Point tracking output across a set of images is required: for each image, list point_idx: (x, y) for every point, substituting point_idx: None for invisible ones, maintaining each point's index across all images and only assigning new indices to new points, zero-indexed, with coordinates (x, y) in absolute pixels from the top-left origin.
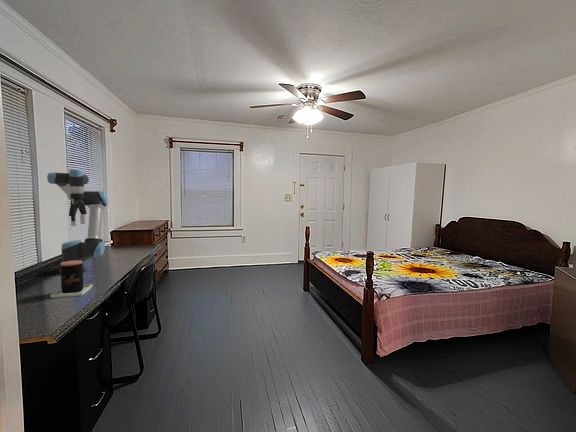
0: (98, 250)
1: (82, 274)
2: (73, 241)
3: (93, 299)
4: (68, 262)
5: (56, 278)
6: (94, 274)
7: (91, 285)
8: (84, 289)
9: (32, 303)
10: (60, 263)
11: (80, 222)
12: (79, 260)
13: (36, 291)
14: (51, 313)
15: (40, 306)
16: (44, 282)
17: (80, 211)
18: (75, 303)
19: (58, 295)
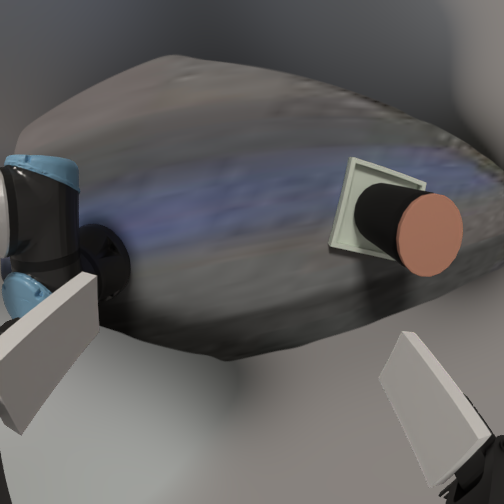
0: (72, 169)
1: (412, 188)
2: (21, 305)
3: (457, 154)
4: (431, 248)
5: (174, 293)
6: (161, 174)
7: (362, 160)
8: (375, 179)
9: (418, 289)
10: (432, 275)
11: (89, 342)
12: (414, 208)
13: (315, 312)
14: (489, 233)
15: None
16: (214, 316)
17: (3, 487)
18: (465, 194)
19: None
